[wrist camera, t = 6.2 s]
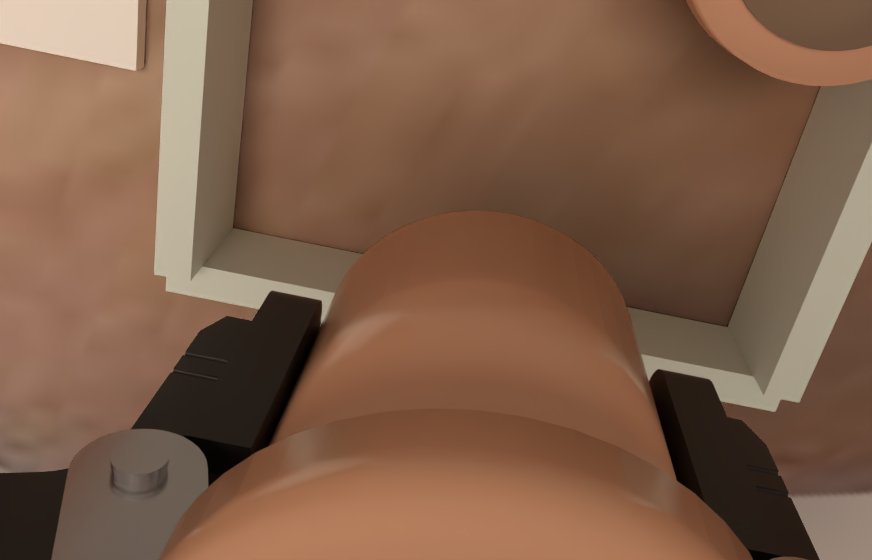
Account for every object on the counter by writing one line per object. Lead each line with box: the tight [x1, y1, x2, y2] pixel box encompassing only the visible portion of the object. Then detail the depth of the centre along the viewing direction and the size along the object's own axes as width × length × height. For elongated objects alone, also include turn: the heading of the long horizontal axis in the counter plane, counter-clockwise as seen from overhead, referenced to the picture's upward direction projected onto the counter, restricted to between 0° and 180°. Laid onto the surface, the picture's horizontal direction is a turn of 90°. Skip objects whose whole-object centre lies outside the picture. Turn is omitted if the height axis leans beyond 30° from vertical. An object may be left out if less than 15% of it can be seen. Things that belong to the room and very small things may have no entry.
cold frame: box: [154, 0, 872, 412], centre depth 15 cm, size 18×17×18 cm
